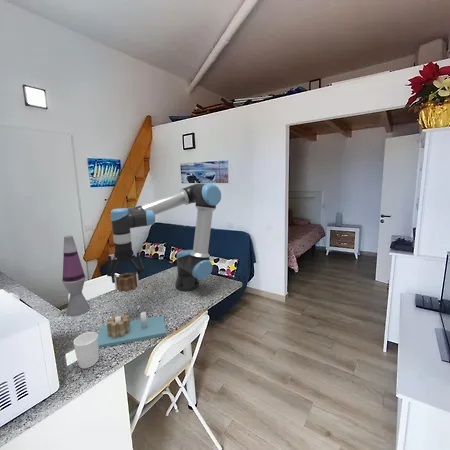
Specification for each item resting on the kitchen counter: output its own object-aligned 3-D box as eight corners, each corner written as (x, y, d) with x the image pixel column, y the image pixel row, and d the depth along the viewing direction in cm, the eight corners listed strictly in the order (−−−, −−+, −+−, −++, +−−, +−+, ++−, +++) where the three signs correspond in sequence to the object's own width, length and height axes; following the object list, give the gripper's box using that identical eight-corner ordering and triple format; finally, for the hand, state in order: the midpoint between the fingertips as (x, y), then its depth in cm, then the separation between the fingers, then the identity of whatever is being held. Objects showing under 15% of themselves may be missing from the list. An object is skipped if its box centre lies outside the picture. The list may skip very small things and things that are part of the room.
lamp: (61, 313, 127) (49, 237, 119) (79, 303, 137) (70, 232, 129) (76, 317, 123) (66, 239, 115) (94, 307, 133) (85, 234, 125)
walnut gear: (137, 282, 125) (136, 271, 124) (137, 290, 117) (136, 278, 116) (118, 285, 123) (117, 273, 122) (116, 293, 114) (115, 281, 113)
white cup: (83, 355, 97) (79, 332, 95) (103, 354, 98) (101, 331, 96) (72, 370, 89) (69, 346, 87) (95, 369, 90) (92, 344, 88)
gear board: (163, 318, 122) (162, 302, 120) (166, 335, 109) (165, 317, 107) (100, 329, 114) (98, 312, 112) (95, 349, 100) (93, 330, 99)
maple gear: (126, 323, 115) (125, 311, 114) (133, 332, 109) (132, 319, 108) (105, 331, 110) (104, 318, 109) (111, 341, 103) (110, 328, 102)
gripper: (147, 237, 122) (150, 280, 127) (98, 242, 116) (104, 287, 120) (147, 241, 115) (151, 286, 119) (95, 246, 109) (101, 294, 113)
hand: (127, 287), depth 120 cm, fingers closed on walnut gear, 9 cm apart
